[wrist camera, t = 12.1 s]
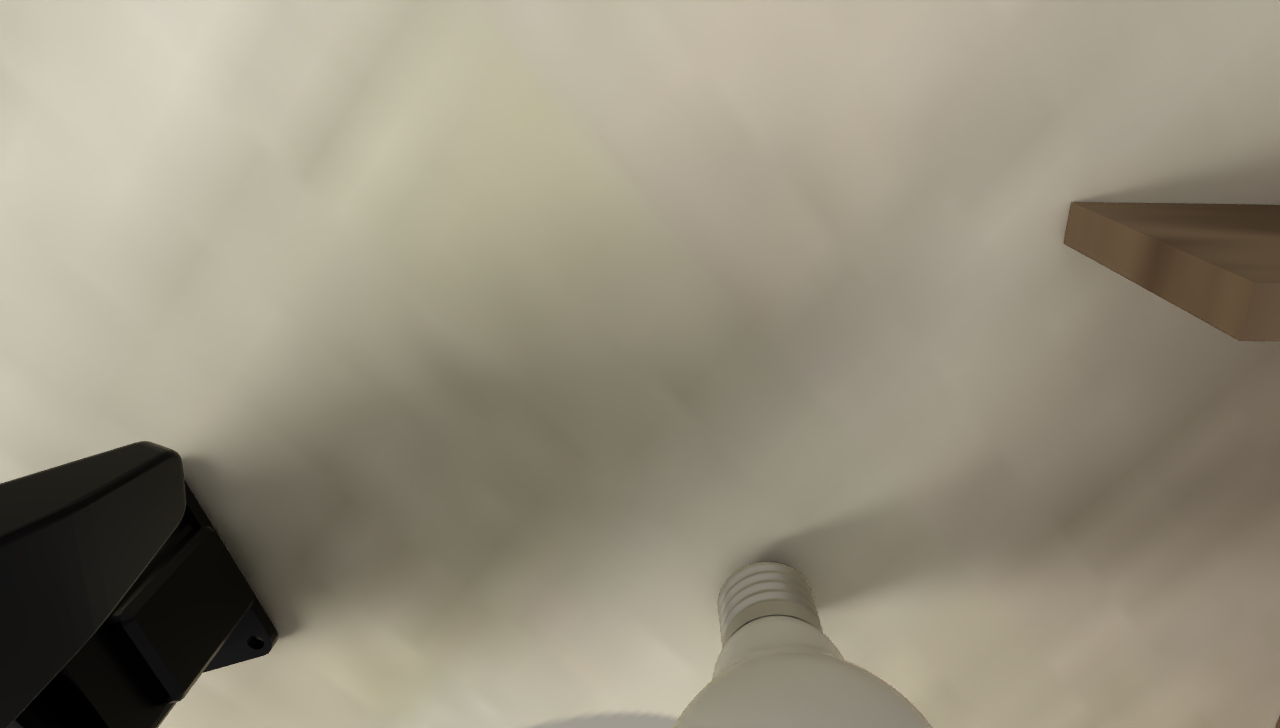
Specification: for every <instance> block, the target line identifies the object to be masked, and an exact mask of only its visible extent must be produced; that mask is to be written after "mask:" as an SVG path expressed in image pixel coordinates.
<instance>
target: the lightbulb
mask: <svg viewBox="0 0 1280 728" xmlns="http://www.w3.org/2000/svg"><path fill="white" fill-rule="evenodd" d="M718 613H719V622H720V631H721V641H722V650H721V652H720V654H719V656H718V659H717V662H716V665H715V668H714V673H713V678H712V681H711V682H710V683H708V684H707V685H706V686H705V687H704V688H703V689H702V690H701V691H700V692H699V693H698V694H697V695H696V696H695V697H694V699H693V700H692V701H691V702H690V703H689V704H688V706H687V707H686V708H685V710H684V711H683V712H682V714H681V715H680V717H679V718H678V720H677V721H676V723H675V725H674V726H673V728H932V726H931V725H930V724H929V722H928V721H927V720H926V719H925V717H924V716H923V715H922V714H921V713H920V712H919V711H918V710H917V708H916V707H915V706H914V705H913V704H912V703H911V702H910V701H909V700H908V699H906V698H905V697H904V696H903V695H902V694H901V693H900V692H898V691H897V690H896V689H895V688H893V687H892V686H891V685H889V684H888V683H886V682H885V681H884V680H882V679H880V678H879V677H877V676H876V675H874V674H872V673H871V672H869V671H867V670H865V669H863V668H861V667H859V666H857V665H855V664H853V663H850V662H848V661H846V660H844V658H843V656H842V655H841V653H840V652H839V650H838V649H837V647H836V646H835V645H834V643H833V642H832V641H831V640H830V639H829V638H828V637H827V636H826V635H825V634H824V633H823V630H822V627H821V624H820V619H819V616H818V612H817V608H816V606H815V601H814V598H813V595H812V591H811V588H810V585H809V584H808V582H807V581H806V579H805V578H804V577H803V576H802V575H801V574H800V573H799V572H797V571H796V570H795V569H793V568H791V567H789V566H786V565H783V564H780V563H774V562H759V563H754V564H750V565H747V566H745V567H743V568H741V569H739V570H737V571H736V572H734V573H733V574H732V575H731V576H730V577H729V578H728V579H727V580H726V581H725V583H724V584H723V586H722V588H721V590H720V593H719V597H718Z"/></svg>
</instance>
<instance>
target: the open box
mask: <svg viewBox="0 0 1280 728" xmlns="http://www.w3.org/2000/svg"><path fill="white" fill-rule="evenodd" d="M1064 244H1066V245H1067V246H1069V247H1071V248H1073V249H1075V250H1076V251H1078V252H1080V253H1082V254H1084V255H1085V256H1087V257H1089V258H1091V259H1093V260H1095V261H1096V262H1098V263H1100V264H1102V265H1104V266H1105V267H1107V268H1109V269H1111V270H1113V271H1114V272H1116V273H1118V274H1120V275H1122V276H1123V277H1125V278H1127V279H1129V280H1131V281H1132V282H1134V283H1136V284H1138V285H1140V286H1141V287H1143V288H1145V289H1147V290H1149V291H1150V292H1152V293H1154V294H1156V295H1158V296H1159V297H1161V298H1163V299H1165V300H1167V301H1168V302H1170V303H1172V304H1174V305H1176V306H1177V307H1179V308H1181V309H1183V310H1185V311H1187V312H1188V313H1190V314H1192V315H1194V316H1196V317H1197V318H1199V319H1201V320H1203V321H1205V322H1206V323H1208V324H1210V325H1212V326H1214V327H1215V328H1217V329H1219V330H1221V331H1223V332H1224V333H1226V334H1228V335H1230V336H1232V337H1233V338H1235V339H1237V340H1239V341H1280V205H1247V204H1171V203H1094V202H1071V206H1070V212H1069V217H1068V222H1067V228H1066V233H1065V238H1064ZM1276 728H1280V717H1279V720H1278V723H1277V726H1276Z"/></svg>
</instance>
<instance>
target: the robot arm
mask: <svg viewBox="0 0 1280 728" xmlns="http://www.w3.org/2000/svg"><path fill="white" fill-rule="evenodd" d="M255 636H258V637H260V638H261V639H262V640H263V641H261V640H258V639H257V638H256V637H255ZM277 638H278V634H277V631H276V629H275V627H274V626H273V624H272V622H271V621H270V619H269V618H268V616H267V614H266V613H265V611H264V609H263V608H262V606H261V604H260V603H259V601H258V600H257V598H256V596H255V595H254V593H253V591H252V590H251V588H250V586H249V585H248V583H247V582H246V580H245V578H244V577H243V575H242V573H241V572H240V570H239V568H238V567H237V565H236V564H235V562H234V560H233V559H232V557H231V555H230V554H229V552H228V550H227V549H226V547H225V546H224V544H223V542H222V541H221V539H220V537H219V536H218V534H217V532H216V531H215V529H214V528H213V526H212V524H211V523H210V521H209V519H208V518H207V516H206V515H205V513H204V511H203V510H202V508H201V506H200V505H199V503H198V501H197V500H196V498H195V497H194V495H193V493H192V492H191V490H190V488H189V487H188V485H187V483H186V482H185V480H184V474H183V465H182V459H181V457H180V455H179V454H178V453H177V452H176V451H174V450H172V449H169V448H166V447H164V446H161V445H158V444H155V443H152V442H148V441H142V442H137V443H133V444H130V445H126V446H123V447H120V448H116V449H113V450H110V451H107V452H103V453H100V454H97V455H93V456H90V457H87V458H84V459H80V460H77V461H74V462H70V463H67V464H64V465H61V466H57V467H54V468H51V469H47V470H44V471H41V472H38V473H34V474H31V475H28V476H24V477H21V478H18V479H15V480H11V481H8V482H5V483H1V484H0V728H158V727H159V725H160V724H161V723H162V721H163V720H164V719H165V717H166V716H167V715H168V713H169V712H170V711H171V709H172V708H173V707H174V705H175V704H176V703H177V702H178V701H180V700H182V699H183V698H184V697H185V696H186V694H187V693H188V692H189V690H190V689H191V687H192V686H193V685H194V683H195V682H196V681H197V679H198V678H199V677H200V675H201V674H202V673H203V672H207V671H211V670H214V669H218V668H221V667H225V666H228V665H232V664H235V663H239V662H242V661H246V660H250V659H253V658H257V657H260V656H264V655H266V654H268V653H269V652H270V650H271V649H272V647H273V646H274V644H275V643H276V641H277Z"/></svg>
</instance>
